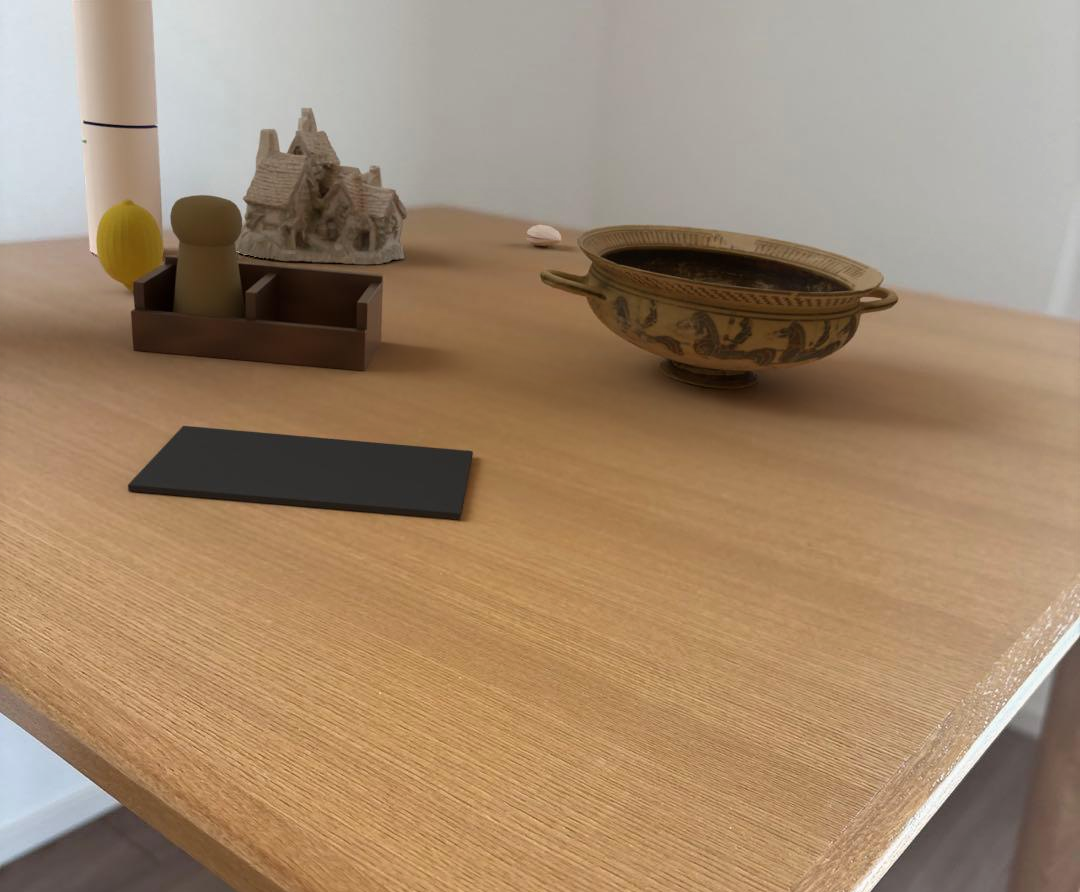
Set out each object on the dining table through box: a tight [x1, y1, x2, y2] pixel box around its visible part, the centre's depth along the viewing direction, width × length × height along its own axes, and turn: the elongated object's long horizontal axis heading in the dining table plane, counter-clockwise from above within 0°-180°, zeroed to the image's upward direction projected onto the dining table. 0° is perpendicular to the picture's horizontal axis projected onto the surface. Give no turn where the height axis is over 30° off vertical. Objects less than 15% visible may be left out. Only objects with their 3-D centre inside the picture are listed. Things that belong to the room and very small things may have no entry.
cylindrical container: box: [71, 0, 165, 254], centre depth 111 cm, size 7×7×25 cm
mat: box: [127, 425, 474, 520], centre depth 66 cm, size 18×10×1 cm, turn 89°
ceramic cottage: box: [235, 107, 408, 265], centre depth 122 cm, size 16×16×15 cm
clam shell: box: [526, 224, 562, 247], centre depth 140 cm, size 4×5×2 cm
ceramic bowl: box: [539, 224, 899, 390], centre depth 91 cm, size 30×24×10 cm
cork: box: [169, 194, 246, 319], centre depth 87 cm, size 6×6×11 cm
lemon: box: [96, 199, 164, 292], centre depth 100 cm, size 6×6×8 cm
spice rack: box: [130, 254, 384, 372], centre depth 88 cm, size 17×9×6 cm, turn 89°
